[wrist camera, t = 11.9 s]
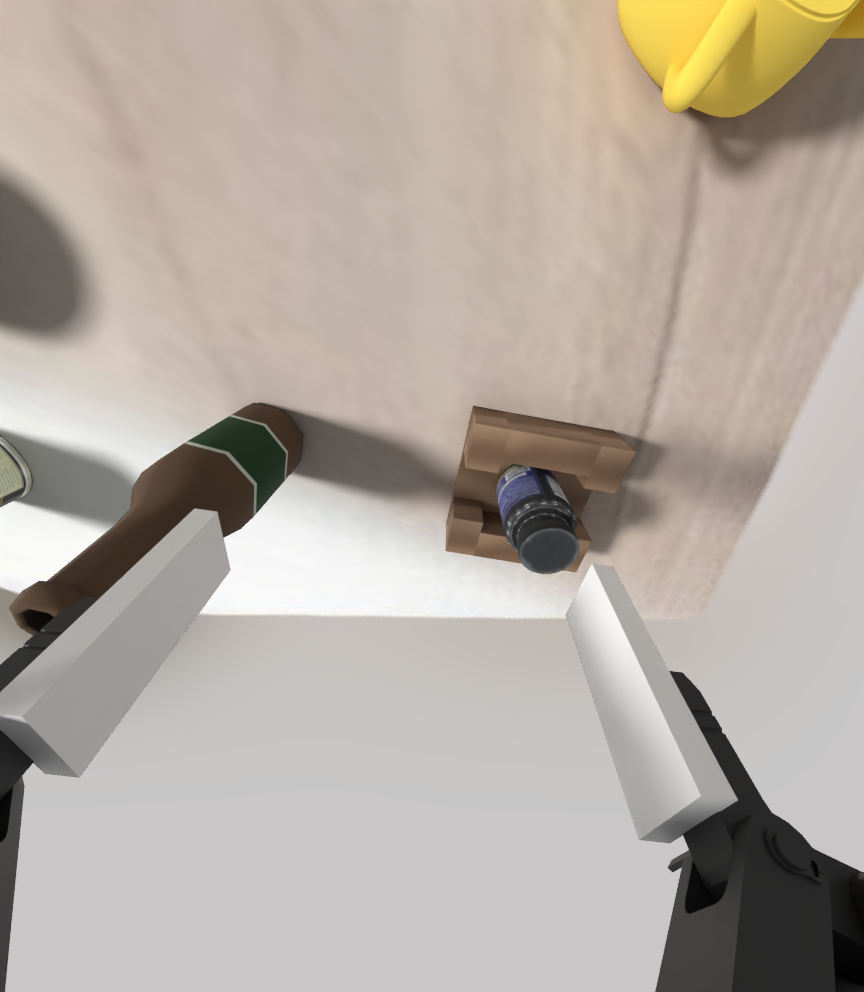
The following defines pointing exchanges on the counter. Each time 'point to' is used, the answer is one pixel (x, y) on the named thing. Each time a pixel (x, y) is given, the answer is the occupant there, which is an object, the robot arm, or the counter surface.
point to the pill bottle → (537, 518)
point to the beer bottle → (177, 504)
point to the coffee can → (12, 474)
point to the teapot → (731, 46)
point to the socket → (536, 443)
